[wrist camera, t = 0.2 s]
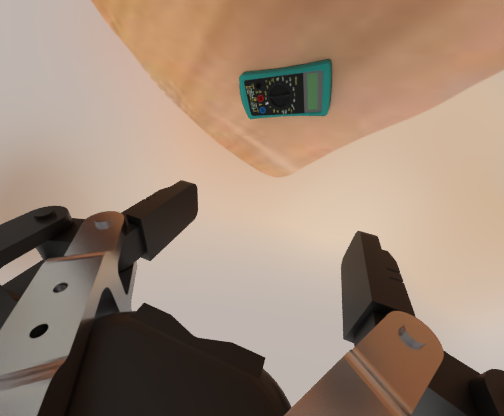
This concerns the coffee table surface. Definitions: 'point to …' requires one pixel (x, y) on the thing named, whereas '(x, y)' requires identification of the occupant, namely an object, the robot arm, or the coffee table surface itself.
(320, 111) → the digital multimeter
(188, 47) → the coffee table surface
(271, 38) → the coffee table surface
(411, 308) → the robot arm
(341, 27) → the coffee table surface
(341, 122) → the coffee table surface
